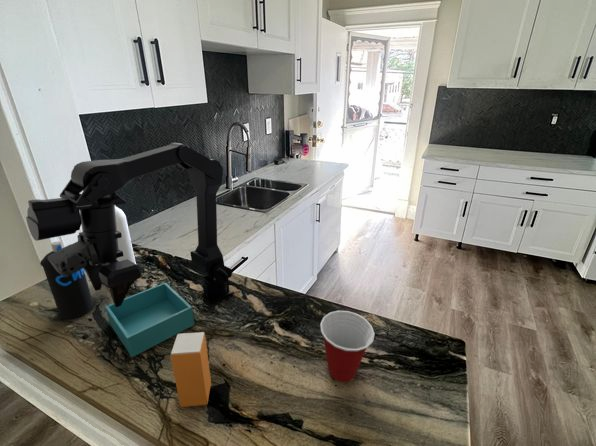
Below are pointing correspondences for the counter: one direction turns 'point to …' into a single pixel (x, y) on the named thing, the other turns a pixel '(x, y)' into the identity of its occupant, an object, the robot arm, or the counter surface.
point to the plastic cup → (345, 342)
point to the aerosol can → (68, 289)
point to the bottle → (124, 236)
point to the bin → (149, 318)
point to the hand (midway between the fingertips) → (107, 297)
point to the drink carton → (191, 369)
